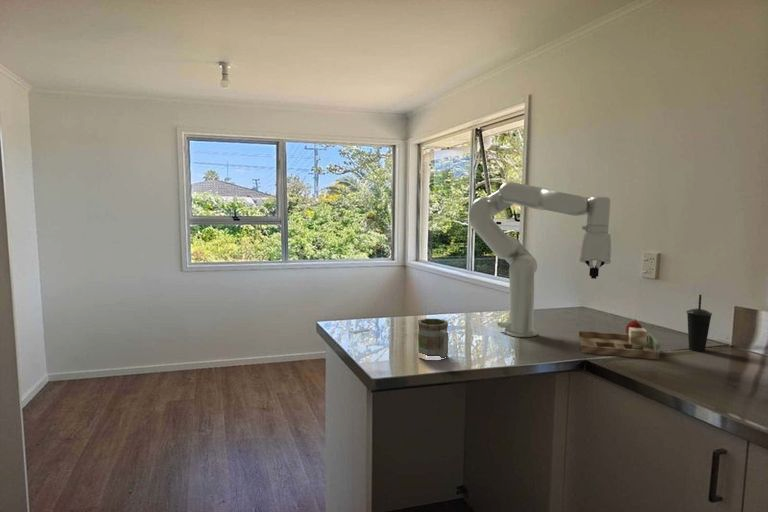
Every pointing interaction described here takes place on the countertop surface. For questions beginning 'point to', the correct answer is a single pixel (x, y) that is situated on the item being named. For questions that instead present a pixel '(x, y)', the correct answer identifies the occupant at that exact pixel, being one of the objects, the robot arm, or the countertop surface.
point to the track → (617, 345)
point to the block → (637, 336)
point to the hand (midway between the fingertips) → (593, 278)
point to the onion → (633, 325)
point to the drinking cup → (698, 327)
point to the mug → (433, 337)
